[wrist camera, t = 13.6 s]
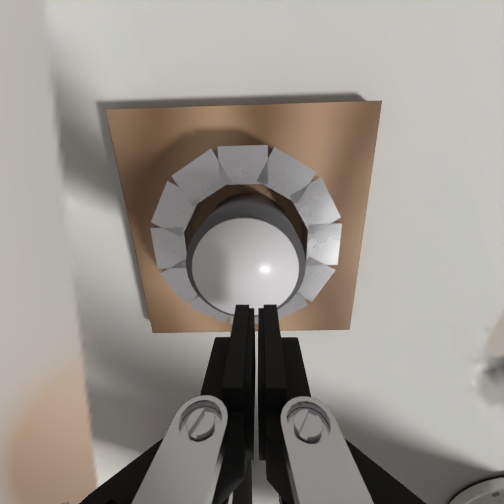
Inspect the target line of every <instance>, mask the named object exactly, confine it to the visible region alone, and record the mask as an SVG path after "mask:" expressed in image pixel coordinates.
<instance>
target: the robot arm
mask: <svg viewBox="0 0 504 504" xmlns="http://www.w3.org/2000/svg"><path fill="white" fill-rule="evenodd" d="M254 409H255V318H254V308H249V305H236V307H235V313H234V319H233V325H232V331H231V336H230V337H216V338H215V340H214V344H213V348H212V352H211V356H210V360H209V363H208V367H207V371H206V375H205V379H204V383H203V387H202V391H201V394H200V396H198V397H194V398H192V399H191V400H189V401H187V402H186V403H185V404H184V405H183V406H181V407H180V409H179V410H178V412H177V413H176V415H175V417H174V419H173V421H172V423H171V425H170V427H169V429H168V431H167V433H166V435H165V437H164V438H163V439H161V440H160V441H159V442H157V443H156V444H155V445H153V446H152V447H151V448H149V449H148V450H147V451H146V452H144V453H143V454H142V455H140V456H139V457H138V458H136V459H135V460H134V461H132V462H131V463H130V464H129V465H127V466H126V467H125V468H123V469H122V470H121V471H119V472H118V473H117V474H115V475H114V476H113V477H112V478H110V479H109V480H108V481H106V482H105V483H104V484H102V485H101V486H100V487H98V488H97V489H96V490H94V491H93V492H92V493H91V494H89V495H88V496H87V497H86V498H85V499H84V500H83V501H82V502H81V503H79V504H232V499H233V491H234V490H235V489H236V488H237V486H238V485H239V484H240V483H241V482H242V481H243V480H244V474H245V473H246V468H247V460H253V457H254ZM258 427H259V460H266V474H267V480H268V481H269V483H270V484H271V485H272V486H273V487H274V489H275V490H276V491H277V492H278V493H279V502H280V504H426V503H425V502H423V501H422V500H421V499H420V498H418V497H417V496H416V495H415V494H413V493H412V492H411V491H410V490H408V489H407V488H406V487H405V486H403V485H402V484H401V483H400V482H398V481H397V480H396V479H395V478H393V477H392V476H391V475H390V474H388V473H387V472H386V471H385V470H383V469H382V468H381V467H380V466H378V465H377V464H376V463H375V462H373V461H372V460H371V459H370V458H368V457H367V456H366V455H365V454H363V453H362V452H361V451H360V450H358V449H357V448H356V447H355V446H353V445H352V444H351V443H350V442H348V441H347V440H346V439H345V438H344V437H343V435H342V432H341V430H340V428H339V426H338V424H337V421H336V419H335V417H334V415H333V414H332V412H331V411H330V409H329V408H328V407H327V406H326V405H325V404H324V403H322V402H320V401H319V400H317V399H314V398H311V395H310V390H309V386H308V381H307V377H306V372H305V368H304V363H303V359H302V354H301V350H300V345H299V341H298V338H297V337H281V335H280V327H279V319H278V311H277V305H276V304H267V305H264V308H258ZM63 504H69V502H67V503H63ZM450 504H504V477H500V478H495V479H490V480H487V481H484V482H481V483H478V484H476V485H474V486H471V487H469V488H467V489H466V490H464V491H462V492H461V493H460V494H458V495H457V496H456V497H455V498H454V499H453V500H452V501H451V502H450Z"/></svg>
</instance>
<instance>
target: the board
mask: <svg viewBox="0 0 504 504" xmlns="http://www.w3.org/2000/svg"><path fill="white" fill-rule="evenodd" d="M381 104H382V101H354V102H322V103H291V104H260V105H229V106H198V107H166V108H135V109H106V114H107V118H108V123H109V128H110V133H111V137H112V142H113V147H114V152H115V156H116V161H117V166H118V170H119V175H120V180H121V185H122V189H123V194H124V199H125V204H126V208H127V213H128V218H129V223H130V227H131V232H132V237H133V242H134V246H135V251H136V256H137V261H138V265H139V270H140V275H141V280H142V284H143V289H144V294H145V298H146V303H147V308H148V313H149V317H150V322H151V327H152V332H153V333H178V332H231V331H232V325H233V324H230V317H228V319H227V321H226V322H225V323H223V322H221V321H219V320H217V319H214V318H212V317H210V316H208V315H205V314H203V313H201V312H199V311H196V310H194V309H192V308H190V305H191V303H192V301H193V300H192V301H190V302H188V303H187V304H185V303H184V302H183V301H182V300H181V299H180V297H179V296H178V295H177V294H176V292H175V291H174V290H173V289H172V288H171V286H170V285H169V284H168V283H167V282H166V280H165V279H164V278H163V277H162V276H161V274H160V273H161V272H162V271H163V269H158V268H157V262H156V257H155V251H154V246H153V240H152V235H151V229H150V228H151V227H152V226H154V225H155V224H153V223H151V220H152V218H153V215H154V213H155V210H156V208H157V205H158V203H159V200H160V198H161V195H162V193H163V190H164V188H165V186H166V183H167V181H169V180H173V178H172V175H173V174H175V173H176V172H178V171H179V170H181V169H182V168H183V167H185V166H186V165H188V164H189V163H191V162H192V161H194V160H195V159H196V158H198V157H199V156H201V155H202V154H204V153H205V152H207V151H208V150H209V149H215V150H217V152H218V148H217V146H247V145H268V155H269V153H270V151H271V149H272V148H273V147H276V148H278V149H279V150H281V151H283V152H284V153H286V154H288V155H289V156H291V157H293V158H294V159H296V160H298V161H299V162H301V163H303V164H304V165H306V166H308V167H309V168H311V169H313V170H314V171H316V174H315V175H316V176H320V177H321V178H322V180H323V182H324V184H325V186H326V188H327V190H328V192H329V194H330V196H331V198H332V200H333V202H334V204H335V206H336V208H337V210H338V212H339V214H340V216H341V218H339V219H338V221H339V222H341V223H342V229H341V238H340V247H339V256H338V265H332V266H333V267H334V269H335V271H334V273H333V274H332V276H331V277H330V278H329V280H328V281H327V282H326V284H325V285H324V286H323V288H322V289H321V290H320V292H319V293H318V295H317V296H316V297H315V299H314V300H313V301H312V302H311V301H309V300H307V299H306V301H307V304H308V306H305V307H303V308H301V309H299V310H297V311H295V312H293V313H291V314H289V315H287V316H285V317H283V318H281V319H279V327H280V331H296V330H349V329H350V322H351V315H352V308H353V301H354V294H355V287H356V280H357V273H358V266H359V259H360V252H361V245H362V238H363V231H364V224H365V216H366V209H367V202H368V195H369V188H370V181H371V174H372V167H373V160H374V153H375V146H376V139H377V132H378V125H379V118H380V111H381ZM241 193H256V194H261V195H264V196H266V197H268V198H270V199H272V200H274V201H275V202H276V203H278V204H279V205H280V206H281V207H282V208H283V210H284V211H285V213H286V214H287V216H288V218H289V220H290V222H291V224H292V226H293V228H294V230H295V232H296V234H297V236H298V238H299V240H300V242H301V230H302V221H301V219H300V217H299V216H298V214H297V212H296V210H295V208H294V207H293V205H292V203H291V201H290V199H288V198H286V197H284V196H283V195H281V194H279V193H277V192H275V191H274V190H272V189H270V188H268V187H267V186H265V185H263V184H236V185H225V186H224V187H222V188H220V189H219V190H217V191H216V192H214V193H213V194H211V195H210V196H208V197H207V198H205V199H203V202H202V204H201V206H200V208H199V210H198V212H197V214H196V217H195V219H194V221H193V223H192V230H193V236H194V234H195V233H196V231H197V230H198V229H199V228H200V226H201V225H202V224H203V223H204V221H205V220H206V219H207V218H208V216H209V215H210V214H211V213H212V211H213V210H214V209H215V208H216V206H217V205H218V204H220V203H221V202H222V201H223V200H225V199H227V198H229V197H231V196H233V195H236V194H241ZM255 331H258V324H255Z"/></svg>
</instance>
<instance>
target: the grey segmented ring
mask: <svg viewBox="0 0 504 504" xmlns="http://www.w3.org/2000/svg"><path fill="white" fill-rule="evenodd" d="M217 148H218V152H217V150H215V149H209V150H208V151H207V152H205V153H204V154H202V155H201V156H199V157H198V158H196V159H195V160H194V161H192V162H191V163H189V164H188V165H186V166H185V167H183V168H182V169H181V170H179V171H178V172H176V173H175V174H173V175H172V178H173V180H169V181H167V183H166V186H165V188H164V190H163V193H162V195H161V198H160V200H159V203H158V205H157V208H156V210H155V213H154V215H153V218H152V220H151V223H153V224H155V225H154V226H152V227H151V228H150V229H151V235H152V240H153V246H154V251H155V257H156V262H157V268H158V269H163V271H162V272H161V273H160V274H161V276H162V277H163V278H164V279H165V280H166V282H167V283H168V284H169V285H170V286H171V288H172V289H173V290H174V291H175V292H176V294H177V295H178V296H179V297H180V299H181V300H182V301H183V302H184V303H185V304H187V303H188V302H190V301H192V300H193V301H192V303H191V305H190V308H192V309H194V310H196V311H199V312H201V313H203V314H205V315H208V316H210V317H212V318H214V319H217V320H219V321H221V322H223V323H225V322H226V321H227V319H228V317H230V324H233V319H234V316H231V315H227V314H224V313H222V312H219V311H218V310H216V309H214V308H212V307H211V306H209V305H208V304H207V303H205V302H204V301H203V300H202V299H201V298H200V297H199V296H198V294H197V293H196V292H195V290H194V289H193V287H192V285H191V283H190V281H189V278H188V274H187V270H186V254H187V250H188V246H189V244H190V241H191V239H192V237H193V230H192V223H193V221H194V219H195V217H196V214H197V212H198V210H199V208H200V206H201V204H202V202H203V199H205V198H207V197H208V196H210V195H211V194H213V193H214V192H216V191H217V190H219V189H220V188H222V187H224V186H225V185H236V184H263V185H265V186H267V187H268V188H270V189H272V190H274V191H275V192H277V193H279V194H281V195H283V196H284V197H286V198H288V199H290V201H291V203H292V205H293V207H294V208H295V210H296V212H297V214H298V216H299V217H300V219H301V221H302V230H301V244H302V246H303V249H304V253H305V259H306V269H305V275H304V279H303V282H302V284H301V286H300V288H299V290H298V291H297V293H296V294H295V296H294V297H293V298H292V299H291V300H290V301H289V302H288V303H287V304H285V305H284V306H283V307H281V308H280V309H278V310H277V311H278V319H281V318H283V317H285V316H287V315H289V314H291V313H293V312H295V311H297V310H299V309H301V308H303V307H305V306H308V304H307V301H306V299H307V300H309V301H311V302H312V301H313V300H314V299H315V297H316V296H317V295H318V293H319V292H320V290H321V289H322V288H323V286H324V285H325V284H326V282H327V281H328V280H329V278H330V277H331V276H332V274H333V273H334V271H335V269H334V267H333V266H332V265H338V256H339V247H340V238H341V229H342V223H341V222H339V221H338V219H339V218H341V216H340V214H339V212H338V210H337V208H336V206H335V204H334V202H333V200H332V198H331V196H330V194H329V192H328V190H327V188H326V186H325V184H324V182H323V180H322V178H321V177H320V176H316V175H315V174H316V171H314V170H313V169H311V168H309V167H308V166H306V165H304V164H303V163H301V162H299V161H298V160H296V159H294V158H293V157H291V156H289V155H288V154H286V153H284V152H283V151H281V150H279V149H278V148H276V147H273V148H272V149H271V151H270V153H269V155H268V145H247V146H217ZM254 318H255V324H258V317H254Z"/></svg>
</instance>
